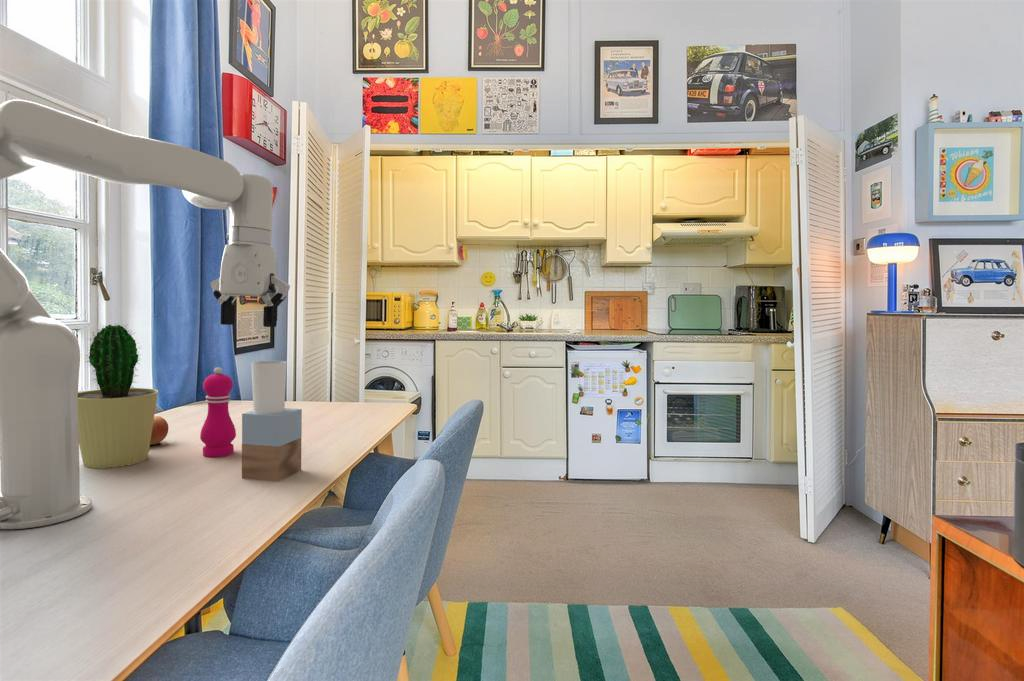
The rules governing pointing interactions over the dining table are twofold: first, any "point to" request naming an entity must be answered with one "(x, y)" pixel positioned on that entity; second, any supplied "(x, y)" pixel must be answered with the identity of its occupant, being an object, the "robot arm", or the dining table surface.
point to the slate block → (272, 427)
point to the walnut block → (271, 461)
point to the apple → (158, 430)
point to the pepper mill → (218, 416)
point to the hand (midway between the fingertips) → (248, 325)
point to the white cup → (268, 386)
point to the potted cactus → (115, 404)
